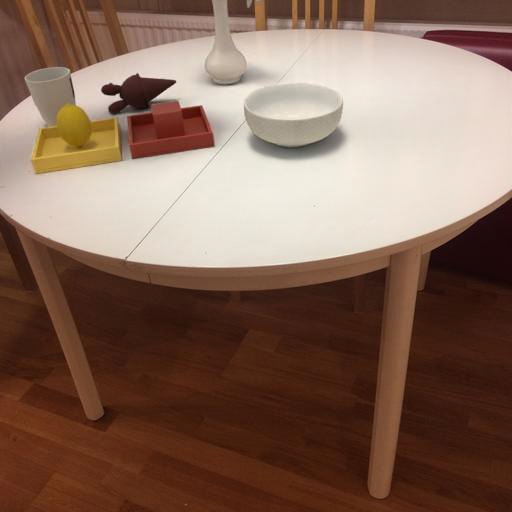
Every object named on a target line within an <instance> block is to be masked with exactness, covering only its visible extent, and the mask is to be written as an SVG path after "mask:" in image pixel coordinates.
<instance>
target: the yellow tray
mask: <svg viewBox="0 0 512 512" xmlns="http://www.w3.org/2000/svg"><path fill="white" fill-rule="evenodd" d="M90 123H91V129H92V133H91V137H90V139H89V140H88V141H87V142H86V143H85V144H83V146H82V147H81V148H79V147H77V146H73V145H70V144H68V143H67V142H65V141H64V140H63V139H62V137H61V136H60V134H59V131H58V128H57V126H52V127H49V126H46V127H39V128H38V131H37V134H36V138H35V142H34V145H33V146H34V147H33V150H32V154H31V158H30V162H31V164H32V169H33V170H34V173H35V175H37V174H43V173H50V172H56V171H63V170H64V171H65V170H69V169H70V170H71V169H77V168H83V167H88V166H89V167H90V166H95V165H104V164H109V163H110V164H111V163H116V162H121V161H122V160H123V157H122V155H123V153H122V135H121V127H120V123H119V117H118V116H115V117H109V118H102V119H101V118H100V119H95V120H94V119H93V120H90Z"/></svg>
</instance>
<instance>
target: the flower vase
mask: <svg viewBox="0 0 512 512" xmlns="http://www.w3.org/2000/svg"><path fill="white" fill-rule="evenodd" d="M255 1H256V2H257V3H260V2H261V0H255ZM228 2H229V1H228V0H211V4H212V9H213V20H214V21H213V22H214V42H213V46H212V48H211V50H210V52H209V53H208V54H207V56H206V58H205V61H204V70H205V72H206V73H207V75H208V76H209V77H211V78H212V81H213V83H215V84H217V85H231V84H236V83H238V82H240V81H241V78H242V77H241V76H242V75H243V74H244V73H245V71H246V69H247V67H248V66H247V63H248V62H247V59H246V57H245V56H244V54H243V53H242V52H241V51H240V50H239V49H238V48H237V47H236V44H235V43H234V40H233V38H232V34H231V27H230V19H229V18H230V17H229V9H228ZM252 2H253V0H246V8H248V9H249V8H250V7H251V5H252Z"/></svg>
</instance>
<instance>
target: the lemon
mask: <svg viewBox="0 0 512 512" xmlns="http://www.w3.org/2000/svg"><path fill="white" fill-rule="evenodd" d="M90 121H91V119H90V118H89V116H88V114H87V112H86V111H85V110H84V109H83V108H82V107H80V106H79V105H77V104H76V105H71V104H70V103H68V104H66V105H65V106H64V107H62V108H61V109H60V111H59V112H58V114H57V128H58V131H59V134H60V136H61V137H62V139H63V140H64V141H65V142H67V143H68V144H70V145H73V146H77V147H79V148H81V147H82V146H83V144H85V143H86V142H87V141H88V140H89V139H90V137H91V133H92V129H91V123H90Z"/></svg>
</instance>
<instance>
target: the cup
mask: <svg viewBox="0 0 512 512" xmlns="http://www.w3.org/2000/svg"><path fill="white" fill-rule="evenodd" d="M24 81H25V83H26V87H27V89H28V91H29V93H30V96H31V99H32V101H33V103H34V105H35V107H36V109H37V110H38V112H39V114H40V116H41V118H42V120H43V121H44V122H45V124H46V125H47V127H52V126H57V114H58V112H59V111H60V109H61V108H62V107H64V106H65V105H66V104H68V103H70V104H71V105H76V106H77V103H76V102H77V101H76V94H75V93H76V92H75V88H74V84H73V78H72V75H71V70H70V69H69V68H68V67H62V66H53V67H52V66H51V67H46V68H45V67H44V68H41V69H37V70H33V71H31V72H29V73H28V74H26V75H25V76H24Z"/></svg>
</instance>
